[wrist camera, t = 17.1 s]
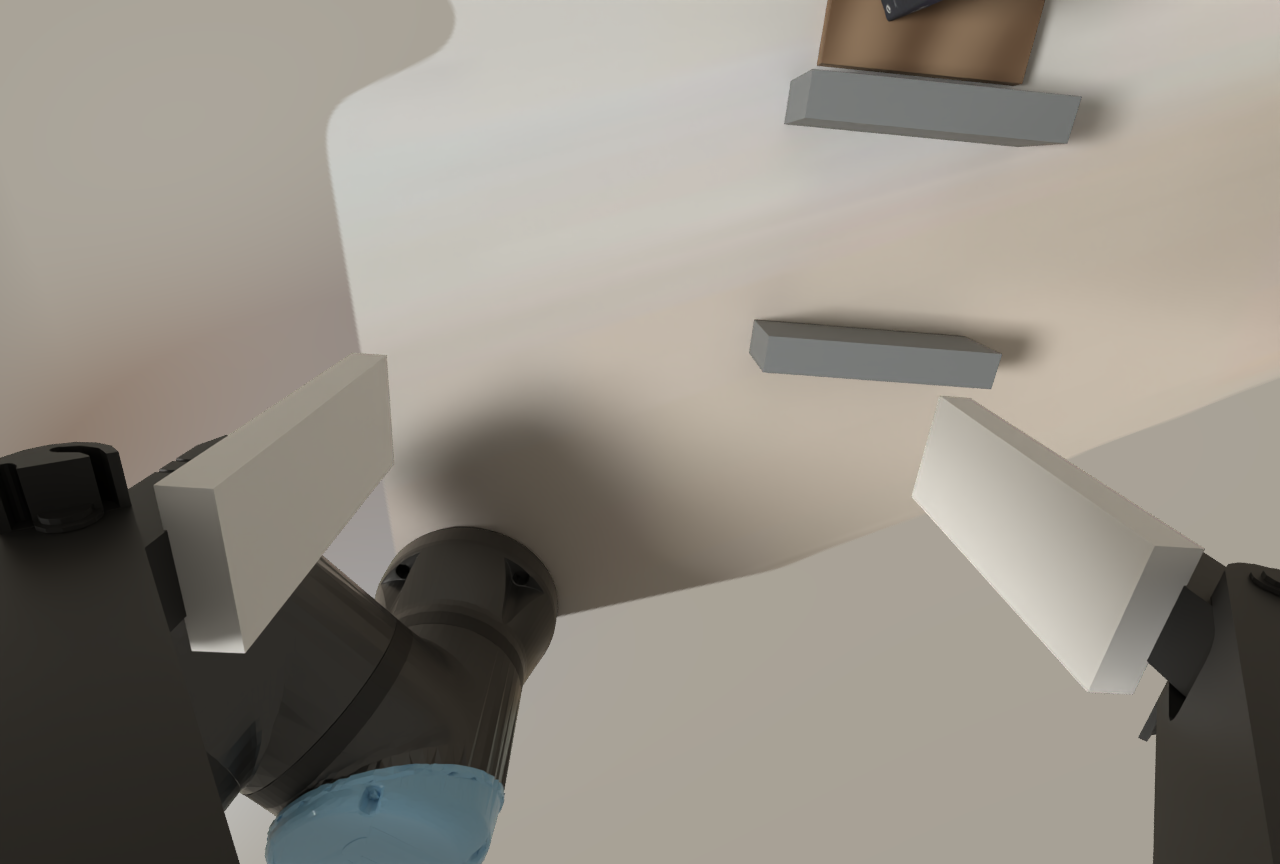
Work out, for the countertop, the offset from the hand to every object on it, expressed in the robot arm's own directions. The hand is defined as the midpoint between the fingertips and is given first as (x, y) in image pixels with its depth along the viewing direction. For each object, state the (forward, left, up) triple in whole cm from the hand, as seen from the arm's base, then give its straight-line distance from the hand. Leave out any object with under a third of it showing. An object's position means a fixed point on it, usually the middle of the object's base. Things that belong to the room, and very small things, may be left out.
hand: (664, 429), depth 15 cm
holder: (+17, +3, -32) cm, 36 cm away
